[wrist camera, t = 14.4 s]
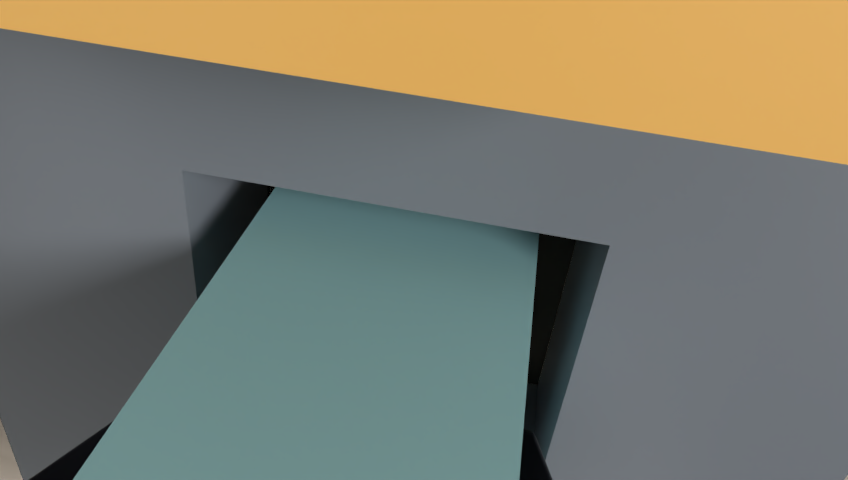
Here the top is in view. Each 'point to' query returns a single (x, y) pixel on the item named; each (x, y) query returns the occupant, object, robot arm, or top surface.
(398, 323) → the plug
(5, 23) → the orange block
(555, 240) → the top surface
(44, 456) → the socket plate
